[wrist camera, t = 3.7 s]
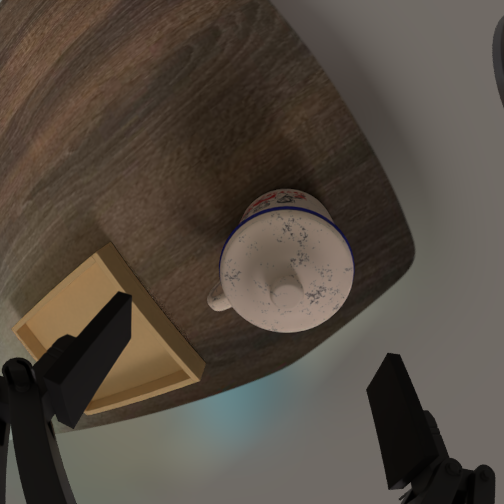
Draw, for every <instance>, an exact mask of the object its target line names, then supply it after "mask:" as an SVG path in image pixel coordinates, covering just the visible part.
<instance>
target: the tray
mask: <svg viewBox="0 0 504 504" xmlns="http://www.w3.org/2000/svg"><path fill="white" fill-rule="evenodd" d="M118 291H120V292H124V293H127V294H130V295H132V321H131V340H130V341H129V343H128V344H127V346H126V347H125V349H124V350H123V352H122V353H121V355H120V356H119V358H118V359H117V361H116V362H115V364H114V365H113V367H112V368H111V370H110V371H109V373H108V374H107V376H106V378H105V379H104V381H103V382H102V384H101V385H100V387H99V388H98V390H97V392H96V393H95V395H94V396H93V398H92V400H91V401H90V403H89V404H88V406H87V408H86V409H85V411H84V413H85V414H86V415H91V414H95V413H99V412H103V411H106V410H110V409H114V408H117V407H121V406H124V405H128V404H131V403H134V402H138V401H141V400H144V399H147V398H151V397H154V396H157V395H160V394H163V393H166V392H169V391H172V390H175V389H178V388H181V387H184V386H187V385H190V384H192V383H195V382H198V381H200V379H201V376H202V373H203V370H204V367H205V365H206V363H205V362H204V360H203V359H202V358H201V357H200V356H199V355H198V354H197V352H196V351H195V350H194V349H193V348H192V347H191V345H190V344H189V343H188V342H187V341H186V340H185V338H184V337H183V336H182V335H181V334H180V332H179V331H178V330H177V329H176V328H175V326H174V325H173V324H172V323H171V321H170V320H169V319H168V318H167V316H166V315H165V314H164V313H163V311H162V310H161V309H160V308H159V306H158V305H157V304H156V303H155V301H154V300H153V299H152V297H151V296H150V295H149V293H148V292H147V291H146V290H145V288H144V287H143V286H142V284H141V283H140V282H139V280H138V279H137V278H136V276H135V275H134V274H133V272H132V271H131V269H130V268H129V267H128V265H127V264H126V263H125V261H124V260H123V258H122V257H121V255H120V254H119V253H118V251H117V250H116V248H115V247H114V246H113V244H112V243H111V242H109V243H108V244H106V245H105V246H103V247H102V248H101V249H99V250H98V251H96V252H95V253H94V254H93V255H92V256H90V257H89V258H88V259H87V260H86V261H84V262H83V263H82V264H81V265H80V266H79V267H77V268H76V269H75V270H74V271H73V272H72V273H70V274H69V275H68V276H67V277H66V278H65V279H64V280H62V281H61V282H60V283H59V284H58V285H57V286H56V287H55V288H54V289H52V290H51V291H50V292H49V293H48V294H47V295H46V296H45V297H44V298H43V299H42V300H40V301H39V302H38V303H37V304H36V305H35V306H34V307H33V308H32V309H31V310H30V311H29V312H28V313H27V314H26V315H25V316H24V317H23V318H22V319H21V320H20V321H19V322H17V323H16V324H15V325H14V326H13V327H12V328H11V329H12V331H13V332H14V333H15V335H16V336H17V337H18V339H19V340H20V341H21V343H22V344H23V345H24V347H25V348H26V349H27V350H28V352H29V353H30V354H31V355H32V357H33V358H34V359H35V360H36V361H38V360H39V359H40V358H41V357H42V355H43V354H44V353H46V351H47V350H48V349H49V348H50V347H51V346H52V344H53V343H54V342H55V341H56V340H57V339H58V338H60V337H62V336H64V335H66V334H69V335H72V336H74V337H77V336H78V335H79V334H80V333H81V332H82V330H83V329H84V328H85V327H86V326H87V325H88V324H89V323H90V321H91V320H92V319H93V318H94V317H95V316H96V315H97V314H98V313H99V311H100V310H101V309H102V308H103V307H104V306H105V305H106V304H107V303H108V302H109V301H110V300H111V298H112V297H113V296H114V295H115V294H116V293H117V292H118Z"/></svg>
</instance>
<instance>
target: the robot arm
mask: <svg viewBox="0 0 504 504" xmlns="http://www.w3.org/2000/svg"><path fill="white" fill-rule="evenodd" d="M131 321H132V295H130V294H127V293H124V292H120V291H118V292H117V293H116V294H115V295H114V296H113V297H112V298H111V300H110V301H109V302H108V303H107V304H106V305H105V306H104V307H103V308H102V309H101V310H100V311H99V313H98V314H97V315H96V316H95V317H94V318H93V319H92V320H91V321H90V323H89V324H88V325H87V326H86V327H85V328H84V329H83V330H82V332H81V333H80V334H79V335H78V336H77V337H74V336H72V335H69V334H66V335H64V336H62V337H60V338H58V339H57V340H56V341H55V342H54V343H53V344H52V346H51V347H50V348H49V349H48V350H47V351H46V353H44V354H43V355H42V357H41V358H40V359H39V360H38V361H37V362H36V363H35V364H34V366H33V367H32V364H31V363H30V362H29V361H28V360H26V359H24V358H17V357H16V358H12V359H10V360H8V361H7V362H6V363H5V364H4V365H3V367H2V373H3V376H4V377H3V376H0V504H5V492H6V489H5V488H6V466H7V453H8V442H9V434H10V426H11V429H12V436H13V443H14V449H15V455H16V460H17V465H18V470H19V475H20V480H21V483H22V488H23V491H24V496H25V499H26V503H27V504H77V503H76V501H75V498H74V495H73V493H72V490H71V487H70V484H69V481H68V478H67V475H66V472H65V469H64V466H63V462H62V459H61V455H60V452H59V448H58V445H57V441H56V437H55V433H54V428H53V424H52V421H51V419H52V417H53V416H54V414H56V417H57V419H58V421H59V422H61V423H63V424H65V425H67V426H69V427H71V428H73V429H74V427H75V426H76V424H77V422H78V421H79V419H80V417H81V416H82V414H83V412H84V411H85V409H86V408H87V406H88V404H89V403H90V401H91V400H92V398H93V396H94V395H95V393H96V392H97V390H98V388H99V387H100V385H101V384H102V382H103V381H104V379H105V378H106V376H107V374H108V373H109V371H110V370H111V368H112V367H113V365H114V364H115V362H116V361H117V359H118V358H119V356H120V355H121V353H122V352H123V350H124V349H125V347H126V346H127V344H128V343H129V341H130V340H131ZM366 391H367V395H368V399H369V403H370V407H371V410H372V415H373V419H374V423H375V427H376V432H377V436H378V440H379V445H380V449H381V454H382V459H383V464H384V468H385V474H386V479H387V484H388V489H389V490H393V489H403V488H404V487H405V486H407V485H408V484H409V483H410V482H411V486H412V488H411V489H410V490H409V491H408V492H406V493H405V494H404V495H403V496H401V497H400V498H399V500H401V499H403V498H404V497H405V498H404V499H403V501H402V503H401V504H494V503H495V473H494V471H493V470H492V469H491V468H490V467H489V466H487V465H480V466H478V467H477V468H476V469H475V470H474V471H473V470H468V469H462V466H461V464H460V463H459V462H458V461H457V460H455V459H453V458H449V455H448V452H447V450H446V447H445V444H444V442H443V439H442V436H441V435H440V431H439V429H438V428H437V424H436V421H435V418H434V417H433V416H432V415H431V413H430V412H429V411H427V410H425V411H424V410H423V409H422V406H421V404H420V401H419V399H418V396H417V394H416V392H415V389H414V387H413V384H412V382H411V379H410V377H409V375H408V372H407V370H406V368H405V365H404V363H403V361H402V358H401V356H400V354H393V353H387V355H386V357H385V358H384V360H383V362H382V364H381V366H380V367H379V369H378V371H377V373H376V374H375V376H374V378H373V379H372V381H371V383H370V384H369V386H368V388H367V389H366Z"/></svg>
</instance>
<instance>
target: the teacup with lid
mask: <svg viewBox="0 0 504 504" xmlns="http://www.w3.org/2000/svg"><path fill="white" fill-rule="evenodd" d="M219 275H220V281H219V282H218V283H217V284H216V285H215V286H214V288H213V289H212V290H211V292H210V293H209V295H208V298H207V302H208V304H209V306H210V307H211V308H212V309H213V310H215V311H222V310H225V309H228V308H230V307H233V308H234V309H235V310H236V311H237V313H239V314H240V315H241V316H242V317H243V318H244V319H246V320H247V321H249V322H250V323H252V324H254V325H256V326H258V327H261V328H263V329H266V330H270V331H275V332H298V331H303V330H307V329H310V328H313V327H315V326H317V325H319V324H321V323H323V322H324V321H326V320H327V319H329V318H330V317H331V316H332V315H334V314H335V313H336V312H337V311H338V310H339V308H340V307H341V306H342V305H343V303H344V302H345V300H346V298H347V296H348V294H349V292H350V289H351V286H352V283H353V278H354V258H353V254H352V250H351V248H350V245H349V243H348V241H347V239H346V237H345V236H344V234H343V233H342V232H341V230H340V229H339V228H338V227H337V226H336V225H335V224H334V222H333V220H332V218H331V217H330V215H329V213H328V211H327V210H326V208H325V207H324V206H323V205H322V204H321V203H320V202H319V201H318V200H317V199H316V198H314V197H313V196H311V195H309V194H307V193H305V192H302V191H299V190H294V189H278V190H274V191H270V192H268V193H266V194H263V195H262V196H260V197H259V198H257V199H256V200H255V201H254V202H252V203H251V205H250V206H249V207H248V208H247V210H246V211H245V213H244V215H243V217H242V219H241V221H240V223H239V225H238V226H237V227H236V228H235V229H234V230H233V231H232V233H231V234H230V236H229V237H228V239H227V240H226V242H225V244H224V247H223V249H222V252H221V256H220V262H219Z"/></svg>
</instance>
